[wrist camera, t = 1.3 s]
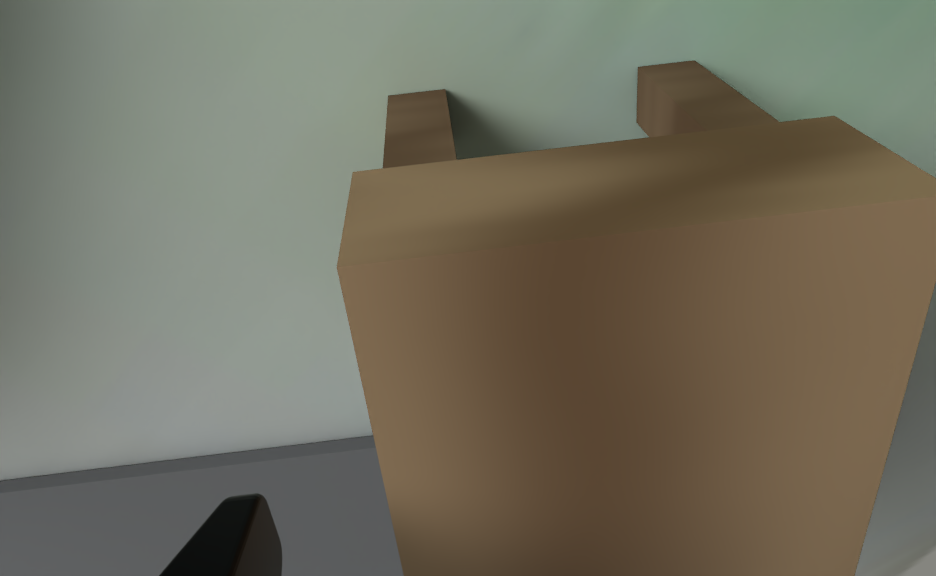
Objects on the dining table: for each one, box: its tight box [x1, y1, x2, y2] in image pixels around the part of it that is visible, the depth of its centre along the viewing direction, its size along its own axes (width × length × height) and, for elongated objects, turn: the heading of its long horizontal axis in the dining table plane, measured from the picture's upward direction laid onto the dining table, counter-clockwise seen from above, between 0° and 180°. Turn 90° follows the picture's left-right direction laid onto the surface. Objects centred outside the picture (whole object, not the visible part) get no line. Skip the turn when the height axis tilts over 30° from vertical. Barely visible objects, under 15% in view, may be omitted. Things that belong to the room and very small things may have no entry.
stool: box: [337, 61, 936, 576], centre depth 11 cm, size 6×6×7 cm
